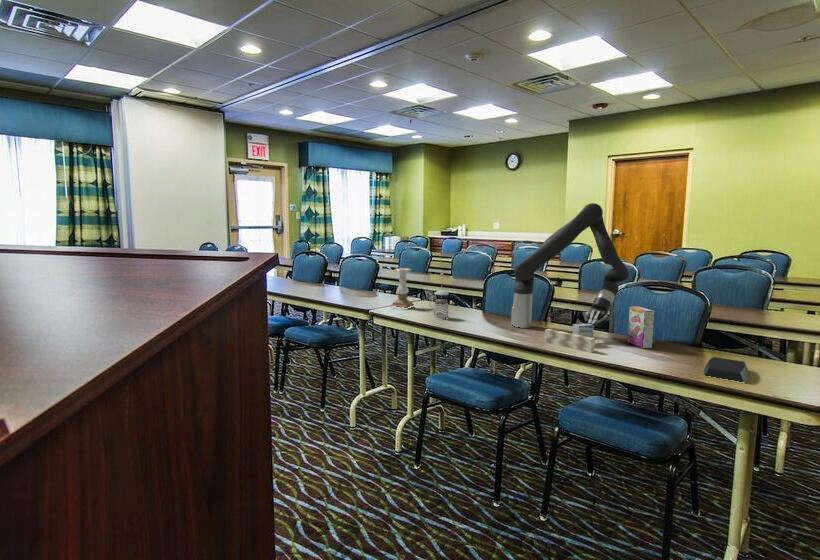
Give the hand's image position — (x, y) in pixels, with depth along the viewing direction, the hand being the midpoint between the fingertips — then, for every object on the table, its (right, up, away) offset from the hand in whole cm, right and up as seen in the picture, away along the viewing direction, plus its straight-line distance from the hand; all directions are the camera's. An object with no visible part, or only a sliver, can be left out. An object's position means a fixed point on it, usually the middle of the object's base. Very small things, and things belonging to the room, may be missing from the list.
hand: (588, 331), depth 211 cm
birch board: (-11, -6, -8) cm, 15 cm away
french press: (-63, +2, +50) cm, 81 cm away
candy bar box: (+21, -6, -4) cm, 22 cm away
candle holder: (-84, +6, +81) cm, 117 cm away
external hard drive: (+34, -11, -42) cm, 55 cm away
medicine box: (-4, -5, -3) cm, 7 cm away
